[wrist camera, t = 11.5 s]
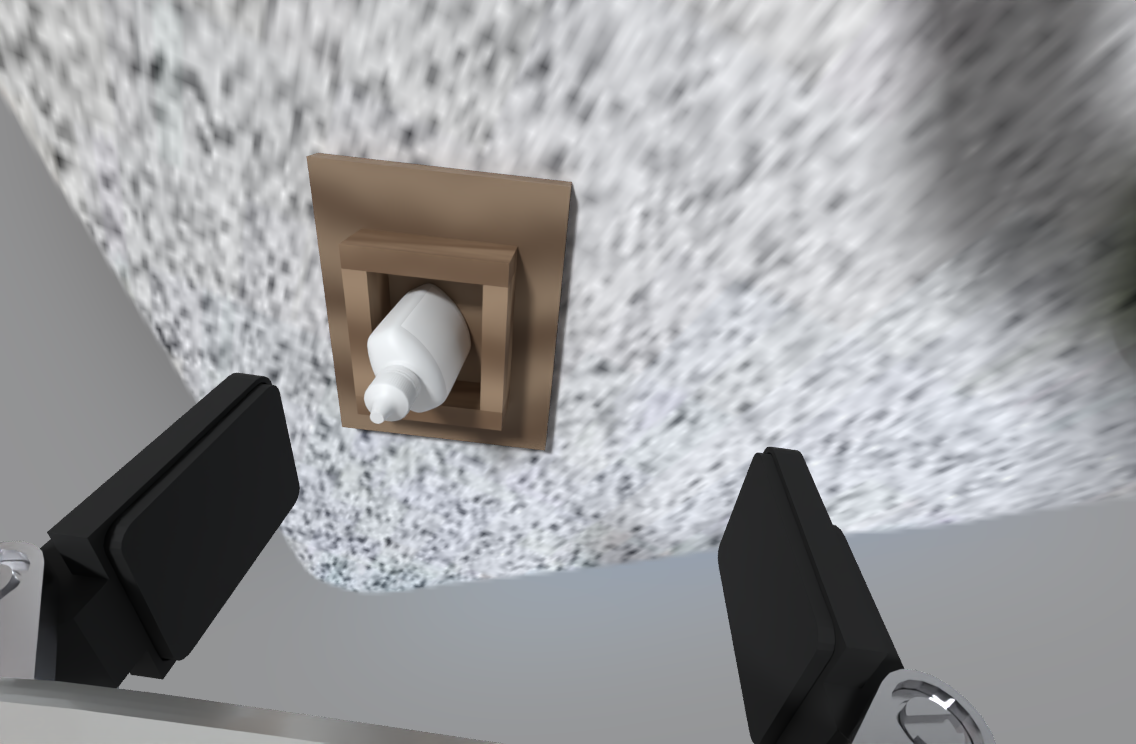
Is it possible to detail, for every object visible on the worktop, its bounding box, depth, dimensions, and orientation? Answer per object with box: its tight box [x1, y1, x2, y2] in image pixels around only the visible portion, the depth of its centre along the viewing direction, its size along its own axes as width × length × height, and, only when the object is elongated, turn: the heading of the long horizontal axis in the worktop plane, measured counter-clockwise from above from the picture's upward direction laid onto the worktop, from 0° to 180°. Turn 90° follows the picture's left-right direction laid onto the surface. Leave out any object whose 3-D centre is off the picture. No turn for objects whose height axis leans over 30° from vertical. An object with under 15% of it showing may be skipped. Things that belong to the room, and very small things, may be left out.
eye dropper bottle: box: [364, 283, 471, 424], centre depth 32 cm, size 4×6×12 cm
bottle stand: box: [307, 153, 572, 450], centre depth 37 cm, size 20×16×5 cm
